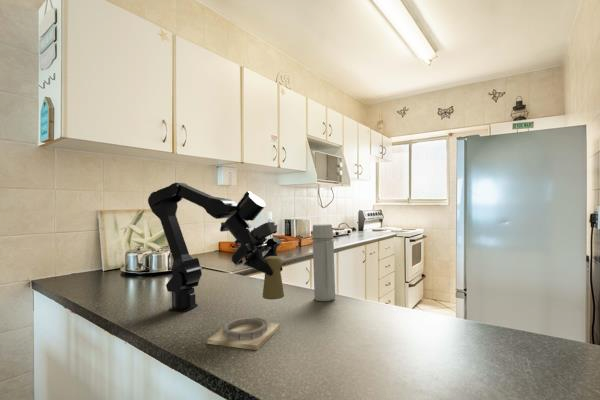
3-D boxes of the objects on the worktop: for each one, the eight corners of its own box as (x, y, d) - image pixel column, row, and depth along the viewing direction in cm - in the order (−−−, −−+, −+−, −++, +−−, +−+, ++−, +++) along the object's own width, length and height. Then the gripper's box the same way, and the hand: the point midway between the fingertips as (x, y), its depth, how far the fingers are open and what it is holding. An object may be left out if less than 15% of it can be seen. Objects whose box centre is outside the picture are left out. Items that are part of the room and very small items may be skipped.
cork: (278, 300, 82) (277, 258, 82) (258, 298, 84) (257, 257, 85) (287, 294, 88) (286, 255, 88) (268, 292, 90) (267, 254, 90)
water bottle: (310, 297, 107) (308, 224, 108) (332, 295, 109) (329, 223, 110) (318, 305, 98) (316, 226, 99) (342, 302, 100) (339, 225, 101)
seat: (206, 343, 72) (206, 332, 72) (235, 323, 85) (235, 314, 85) (257, 350, 68) (256, 338, 68) (280, 327, 80) (279, 318, 80)
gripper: (240, 213, 80) (278, 258, 75) (275, 211, 97) (308, 248, 92) (215, 243, 83) (251, 288, 78) (254, 236, 100) (285, 273, 95)
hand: (277, 272), depth 86 cm, fingers closed on cork, 5 cm apart
